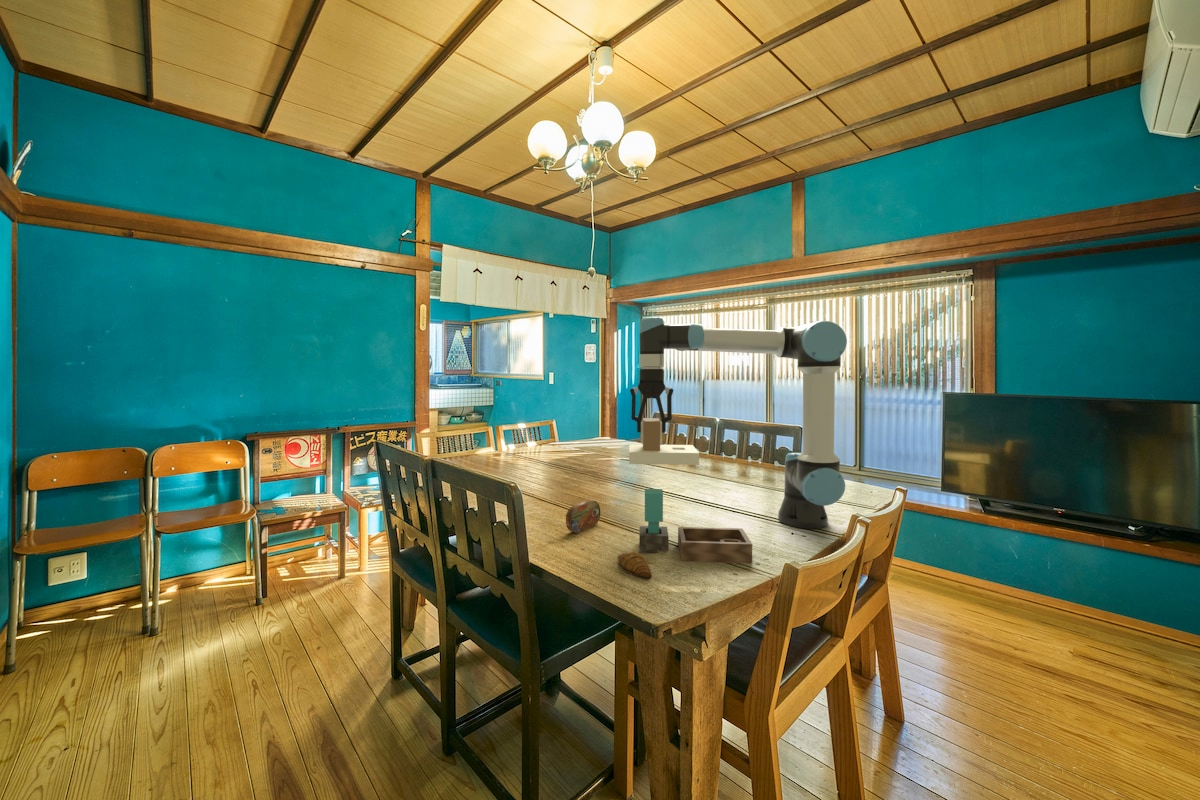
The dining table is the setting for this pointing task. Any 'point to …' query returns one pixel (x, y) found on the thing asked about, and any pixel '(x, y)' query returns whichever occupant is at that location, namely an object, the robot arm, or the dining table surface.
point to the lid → (660, 448)
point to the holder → (653, 540)
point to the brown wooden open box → (714, 545)
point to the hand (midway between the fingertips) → (651, 442)
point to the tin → (582, 516)
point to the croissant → (635, 565)
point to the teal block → (653, 509)
